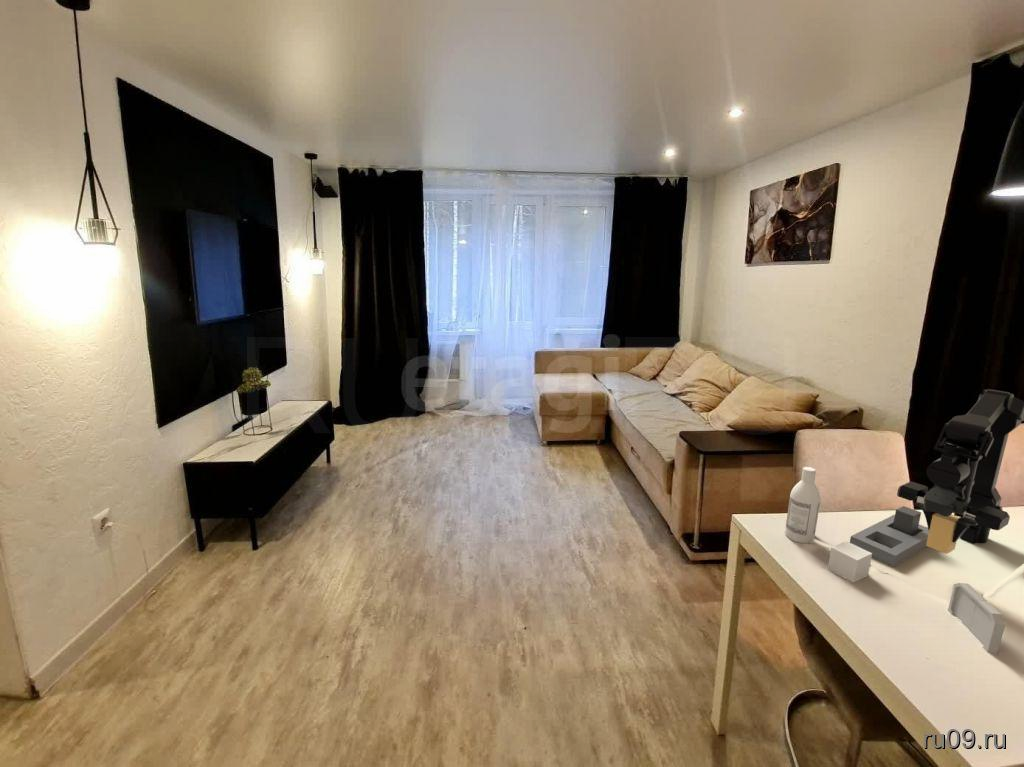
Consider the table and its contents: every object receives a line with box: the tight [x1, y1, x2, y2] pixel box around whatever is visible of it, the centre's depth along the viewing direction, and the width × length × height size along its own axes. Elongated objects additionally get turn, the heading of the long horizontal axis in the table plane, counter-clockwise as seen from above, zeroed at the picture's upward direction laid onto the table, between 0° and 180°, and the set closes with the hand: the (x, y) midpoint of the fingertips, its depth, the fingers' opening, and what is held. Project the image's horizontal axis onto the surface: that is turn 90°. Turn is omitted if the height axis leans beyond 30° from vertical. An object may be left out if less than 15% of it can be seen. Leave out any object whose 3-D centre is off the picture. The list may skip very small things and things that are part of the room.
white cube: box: [827, 540, 873, 583], centre depth 119 cm, size 6×6×6 cm
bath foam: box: [784, 466, 821, 544], centre depth 132 cm, size 7×7×20 cm
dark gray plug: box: [892, 505, 922, 536], centre depth 131 cm, size 4×4×8 cm
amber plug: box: [926, 513, 960, 555], centre depth 115 cm, size 4×4×8 cm
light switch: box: [947, 582, 1006, 655], centre depth 99 cm, size 2×12×8 cm, turn 168°
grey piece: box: [849, 514, 929, 567], centre depth 129 cm, size 22×10×4 cm, turn 119°
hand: (942, 537), depth 115 cm, fingers closed on amber plug, 4 cm apart
